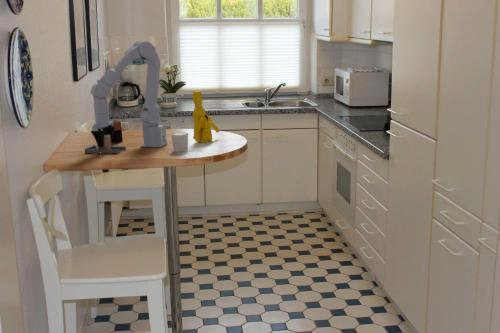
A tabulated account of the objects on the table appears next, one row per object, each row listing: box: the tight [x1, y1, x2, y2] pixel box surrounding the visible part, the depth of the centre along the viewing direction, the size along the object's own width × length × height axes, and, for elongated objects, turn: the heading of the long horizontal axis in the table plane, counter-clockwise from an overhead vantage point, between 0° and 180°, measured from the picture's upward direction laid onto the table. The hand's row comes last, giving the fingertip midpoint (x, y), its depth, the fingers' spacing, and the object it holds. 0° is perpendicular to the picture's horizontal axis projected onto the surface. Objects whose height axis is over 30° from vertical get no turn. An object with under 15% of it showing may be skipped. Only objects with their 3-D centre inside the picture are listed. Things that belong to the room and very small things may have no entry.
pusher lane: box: [84, 144, 127, 154], centre depth 263 cm, size 15×8×2 cm, turn 75°
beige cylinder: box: [171, 132, 189, 153], centre depth 258 cm, size 7×7×7 cm
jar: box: [100, 134, 112, 150], centre depth 263 cm, size 4×4×7 cm
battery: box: [110, 119, 124, 144], centre depth 285 cm, size 4×7×10 cm, turn 48°
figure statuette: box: [192, 90, 221, 144], centre depth 274 cm, size 18×8×22 cm, turn 145°
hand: (104, 145), depth 263 cm, fingers open, 6 cm apart
